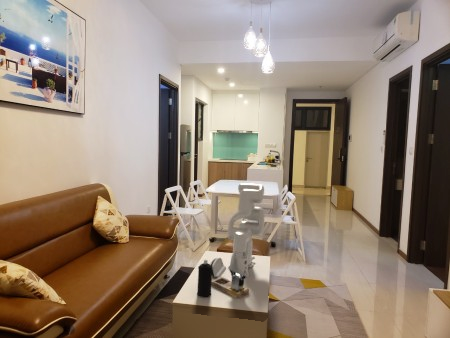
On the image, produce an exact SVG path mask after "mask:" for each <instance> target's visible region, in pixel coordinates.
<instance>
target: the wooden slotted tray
mask: <svg viewBox="0 0 450 338" xmlns="http://www.w3.org/2000/svg"><path fill="white" fill-rule="evenodd" d="M221 283H223V284H221ZM231 283H232V280H229V279H228V278H225V277H223V276H220V277H219V278H217V277H216V278H213V279H212V282H211V287H213V288H216V289H218V290H220V291H222V292H224V293H226V294H228V295H230V296H232V297H234V298H236V299H238V300H240V299H241V298H243V297H245V296H247V295H248V294H250V293H249V292H250V289H249V288H247V287H245V286H243V290H242V291H240V292H236V291H233V290H231Z"/></svg>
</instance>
